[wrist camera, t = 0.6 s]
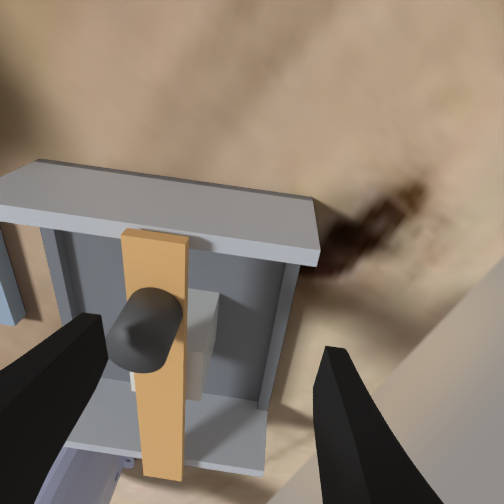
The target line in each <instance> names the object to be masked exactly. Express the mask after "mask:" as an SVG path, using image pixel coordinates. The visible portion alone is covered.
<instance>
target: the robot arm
mask: <svg viewBox="0 0 504 504" xmlns="http://www.w3.org/2000/svg"><path fill="white" fill-rule="evenodd" d="M108 359H109V358H108V352H107V346H106V340H105V334H104V328H103V322H102V316H101V315H99V314H92V313H85V312H82V313H81V314H79V315H78V316H77V317H75V318H74V319H72V320H71V321H70V322H68V323H67V324H66V325H64V326H63V327H61V328H60V329H59V330H57V331H56V332H55V333H53V334H52V335H51V336H49V337H48V338H46V339H45V340H44V341H42V342H41V343H40V344H38V345H37V346H35V347H34V348H33V349H31V350H30V351H28V352H27V353H26V354H24V355H23V356H21V357H20V358H18V359H17V360H16V361H14V362H13V363H11V364H10V365H8V366H7V367H5V368H4V369H2V370H0V504H109V503H110V500H111V498H112V495H113V493H114V490H115V487H116V485H117V482H118V480H119V477H120V475H121V472H122V469H123V468H129V469H131V468H133V467H134V465H135V459H134V457H127V456H121V455H114V454H108V453H101V452H95V451H88V450H82V449H75V448H69V447H63V446H64V444H65V442H66V441H67V439H68V437H69V435H70V434H71V432H72V430H73V428H74V427H75V425H76V423H77V421H78V420H79V418H80V416H81V415H82V413H83V411H84V409H85V408H86V406H87V404H88V402H89V400H90V399H91V397H92V395H93V393H94V392H95V390H96V388H97V385H98V383H99V381H100V379H101V376H102V374H103V372H104V369H105V367H106V364H107V362H108ZM313 422H314V431H315V440H316V448H317V457H318V465H319V473H320V482H321V490H322V498H323V504H444V503H443V502H442V501H441V499H440V498H439V497H438V496H437V494H436V493H435V492H434V491H433V489H432V488H431V487H430V486H429V484H428V483H427V482H426V480H425V479H424V477H423V476H422V475H421V473H420V472H419V471H418V469H417V468H416V466H415V465H414V464H413V462H412V461H411V460H410V458H409V457H408V455H407V454H406V452H405V451H404V449H403V448H402V446H401V445H400V443H399V442H398V440H397V439H396V437H395V436H394V434H393V432H392V431H391V430H390V428H389V426H388V425H387V423H386V421H385V420H384V418H383V416H382V415H381V413H380V411H379V410H378V408H377V407H376V405H375V403H374V401H373V400H372V398H371V396H370V394H369V392H368V391H367V389H366V387H365V385H364V383H363V381H362V379H361V378H360V376H359V374H358V372H357V370H356V368H355V366H354V364H353V362H352V360H351V358H350V356H349V354H348V352H347V350H346V349H345V348H337V347H330V346H325V350H324V353H323V356H322V360H321V363H320V366H319V370H318V373H317V376H316V380H315V383H314V386H313Z"/></svg>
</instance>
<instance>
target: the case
mask: <svg viewBox="0 0 504 504" xmlns="http://www.w3.org/2000/svg"><path fill="white" fill-rule="evenodd" d="M0 221H2V222H8V223H15V224H22V225H29V226H36V227H40V231H41V236H42V240H43V244H44V249H45V253H46V257H47V261H48V266H49V270H50V274H51V279H52V283H53V287H54V291H55V296H56V300H57V304H58V309H59V313H60V317H61V321H62V326H64V325H66V324H67V323H68V322H70V321H71V320H72V319H74V318H75V317H77V316H78V315H79V314H81V313H82V312H85V313H92V314H99V315H101V316H102V322H103V328H104V334H105V337H106V335H107V334H108V332H109V330H110V329H111V327H112V325H113V324H114V322H115V321H116V319H117V317H118V316H119V314H120V312H121V311H122V309H123V308H124V306H125V304H126V303H127V297H126V287H125V276H124V266H123V256H122V245H121V234H122V233H123V232H124V230H125V229H126V228H131V229H138V230H145V231H152V232H159V233H166V234H173V235H180V236H187V237H189V266H188V288H190V289H197V290H204V291H211V292H218V293H220V295H219V307H218V319H217V331H216V340H215V344H214V348H213V352H212V356H211V360H210V364H209V369H208V373H207V377H206V381H205V385H204V389H203V393H202V397H201V402H200V401H194V400H187V399H186V401H185V446H184V465H185V466H192V467H198V468H205V469H211V470H218V471H224V472H231V473H237V474H244V475H250V476H257V477H263V474H264V464H265V446H266V428H267V411H268V406H269V402H270V397H271V393H272V388H273V384H274V380H275V375H276V371H277V366H278V362H279V357H280V353H281V349H282V344H283V340H284V335H285V331H286V327H287V322H288V318H289V313H290V309H291V304H292V300H293V296H294V291H295V287H296V282H297V278H298V273H299V269H300V265H306V266H313V267H317V263H318V259H319V255H320V251H321V250H320V244H319V237H318V231H317V224H316V218H315V212H314V205H313V199H312V197H306V196H299V195H292V194H285V193H278V192H271V191H264V190H257V189H250V188H243V187H236V186H229V185H222V184H214V183H207V182H200V181H193V180H186V179H179V178H172V177H165V176H158V175H151V174H144V173H137V172H130V171H123V170H115V169H108V168H101V167H94V166H87V165H80V164H73V163H66V162H59V161H52V160H45V159H38V160H36V161H33V162H31V163H29V164H27V165H25V166H23V167H21V168H19V169H16V170H14V171H12V172H10V173H8V174H6V175H4V176H2V177H0ZM63 447H69V448H75V449H82V450H88V451H95V452H101V453H108V454H114V455H121V456H127V457H134V458H140V459H142V453H141V442H140V432H139V422H138V411H137V401H136V392H134V391H132V390H131V381H130V371H127V370H125V369H123V368H121V367H119V366H117V365H116V364H114V363H113V362H112V361H111V360H110V359H108V362H107V364H106V367H105V369H104V372H103V374H102V376H101V379H100V381H99V383H98V385H97V388H96V390H95V392H94V393H93V395H92V397H91V399H90V400H89V402H88V404H87V406H86V408H85V409H84V411H83V413H82V415H81V416H80V418H79V420H78V421H77V423H76V425H75V427H74V428H73V430H72V432H71V434H70V435H69V437H68V439H67V441H66V442H65V444H64V446H63Z"/></svg>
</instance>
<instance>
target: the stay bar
mask: <svg viewBox="0 0 504 504" xmlns="http://www.w3.org/2000/svg"><path fill="white" fill-rule="evenodd" d="M121 245H122V256H123V266H124V276H125V287H126V297H127V303H126V304H125V306H124V308H123V309H122V311H121V312H120V314H119V316H118V317H117V319H116V321H115V322H114V324H113V325H112V327H111V329H110V330H109V332H108V334H107V335H106V337H105V340H106V346H107V352H108V358H109V359H110V360H111V361H112V362H113V363H114V364H116V365H117V366H119V367H121V368H123V369H125V370H127V371H130V372H134V380H135V391H136V401H137V411H138V422H139V432H140V442H141V453H142V463H143V473H144V476H149V477H156V478H162V479H169V480H175V481H182V478H183V474H184V446H185V401H186V356H187V311H188V266H189V237H187V236H180V235H173V234H166V233H159V232H152V231H145V230H138V229H131V228H126V229H125V230H124V232H123V233H122V234H121Z"/></svg>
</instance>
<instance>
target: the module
mask: <svg viewBox="0 0 504 504" xmlns="http://www.w3.org/2000/svg"><path fill="white" fill-rule="evenodd" d="M219 295H220V293H218V292H211V291H204V290H197V289H190V288H188V311H187V356H186V399H187V400H194V401H200V402H201V397H202V393H203V389H204V385H205V381H206V377H207V373H208V369H209V364H210V360H211V356H212V352H213V348H214V344H215V340H216V331H217V319H218V307H219ZM130 381H131V390H132V391H134V392H136V391H135V380H134V372H130Z"/></svg>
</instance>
